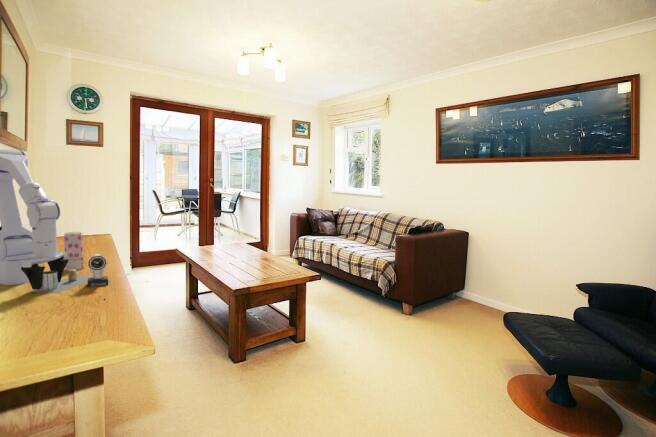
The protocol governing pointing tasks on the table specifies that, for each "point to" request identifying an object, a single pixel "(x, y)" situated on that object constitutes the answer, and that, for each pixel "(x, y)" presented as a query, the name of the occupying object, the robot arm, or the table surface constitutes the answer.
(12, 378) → the table surface
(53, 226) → the robot arm
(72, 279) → the post
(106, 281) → the watch
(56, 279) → the gray hollow cylinder
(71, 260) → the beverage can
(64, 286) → the board
